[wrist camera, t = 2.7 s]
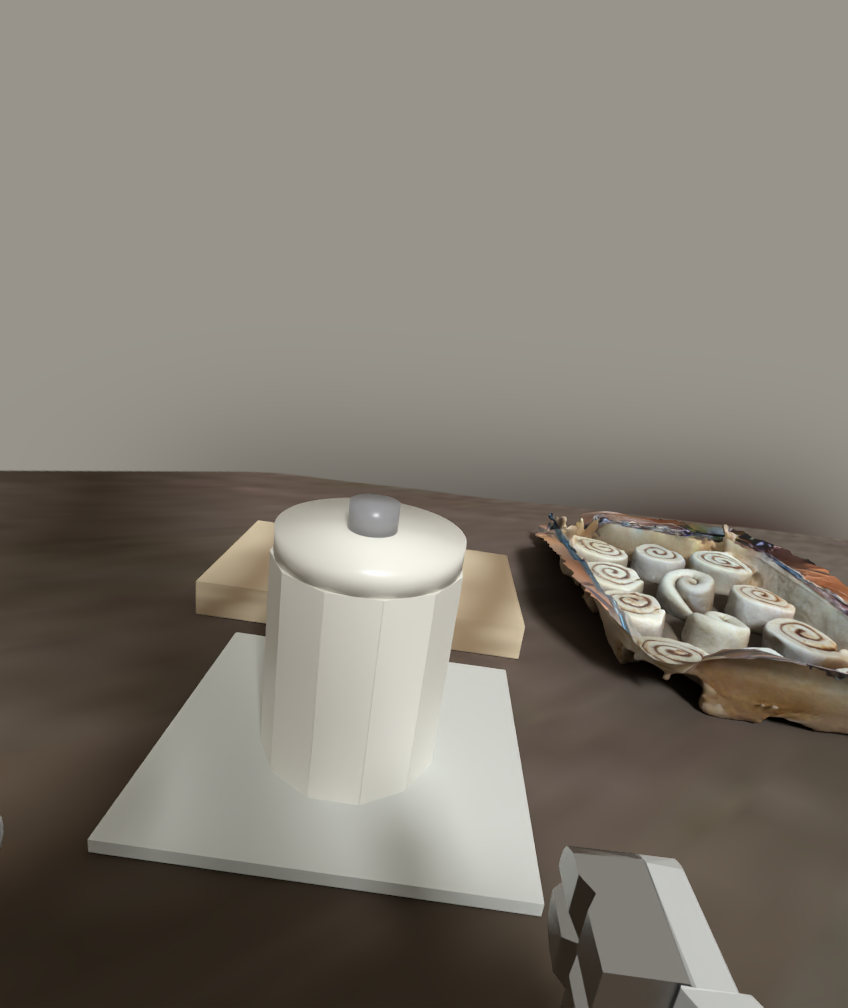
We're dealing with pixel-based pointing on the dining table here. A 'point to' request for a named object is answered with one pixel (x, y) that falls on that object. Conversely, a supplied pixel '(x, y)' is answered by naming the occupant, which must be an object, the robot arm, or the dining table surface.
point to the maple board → (480, 616)
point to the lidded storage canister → (357, 644)
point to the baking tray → (716, 613)
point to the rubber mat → (333, 825)
